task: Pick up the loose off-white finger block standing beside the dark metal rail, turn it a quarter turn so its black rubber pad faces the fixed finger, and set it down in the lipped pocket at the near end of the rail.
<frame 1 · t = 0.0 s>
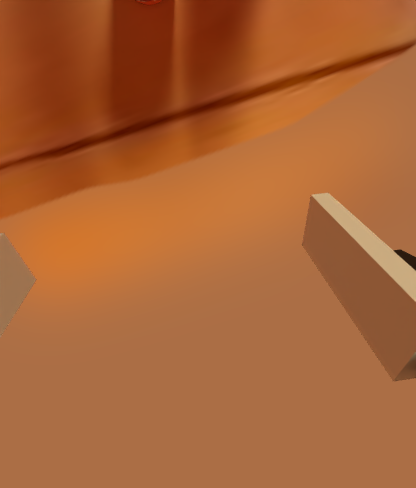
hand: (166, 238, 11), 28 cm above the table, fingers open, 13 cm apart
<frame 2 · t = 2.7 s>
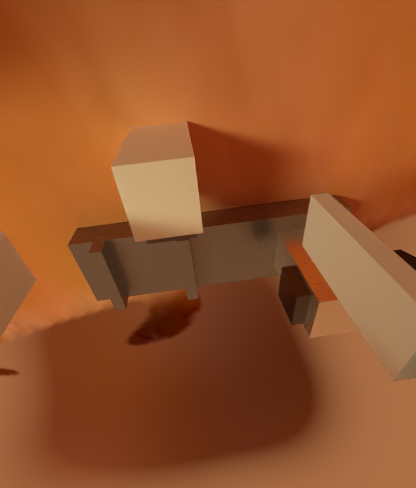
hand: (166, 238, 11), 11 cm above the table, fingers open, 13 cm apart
loose finger: (165, 155, 20), on the table
rail: (211, 241, 25), on the table
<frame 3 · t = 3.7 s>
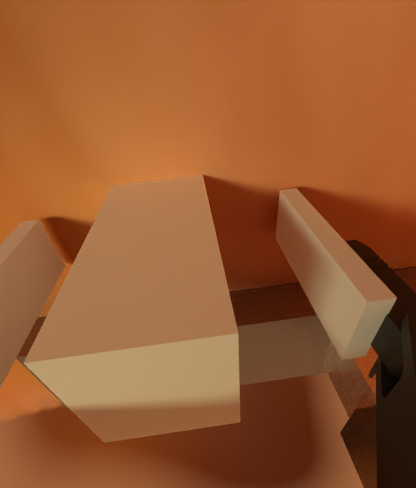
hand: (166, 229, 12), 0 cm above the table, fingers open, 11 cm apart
loose finger: (166, 223, 12), on the table
rail: (232, 325, 18), on the table
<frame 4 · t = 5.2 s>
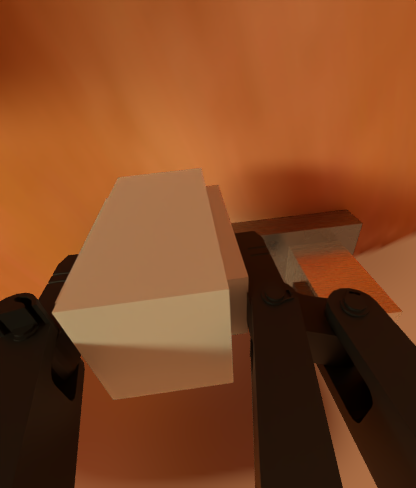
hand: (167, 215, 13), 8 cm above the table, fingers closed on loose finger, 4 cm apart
loose finger: (168, 213, 13), point 8 cm above the table, touching gripper
rail: (221, 254, 25), on the table
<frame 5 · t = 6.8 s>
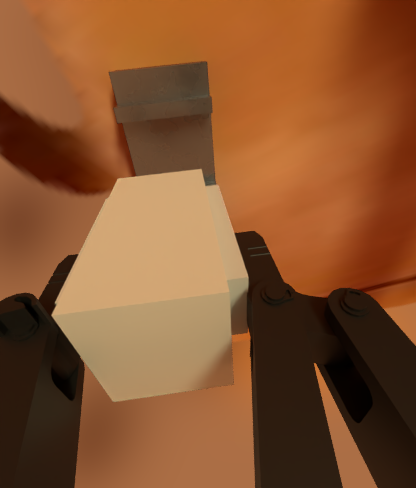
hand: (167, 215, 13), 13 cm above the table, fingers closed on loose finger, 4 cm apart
loose finger: (168, 214, 13), point 13 cm above the table, touching gripper
rail: (182, 202, 27), on the table
when the fingers open (3 cm above the table, at t = 8.7 s): loose finger stays where it is, resting on rail.
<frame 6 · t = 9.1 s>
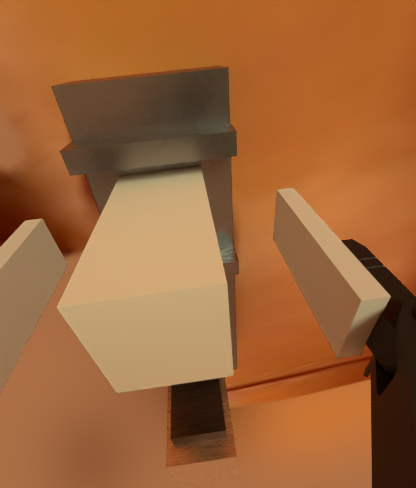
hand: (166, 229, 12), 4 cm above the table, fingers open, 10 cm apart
loose finger: (168, 211, 14), point 2 cm above the table, touching rail
rail: (182, 263, 19), on the table
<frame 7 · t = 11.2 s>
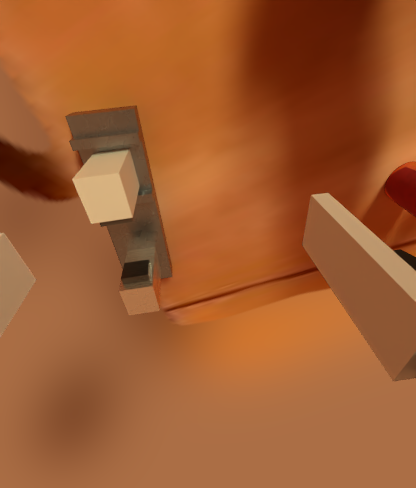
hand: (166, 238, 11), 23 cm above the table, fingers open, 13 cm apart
loose finger: (117, 170, 30), point 2 cm above the table, touching rail
coffee cup: (403, 180, 39), on the table
rail: (132, 205, 35), on the table
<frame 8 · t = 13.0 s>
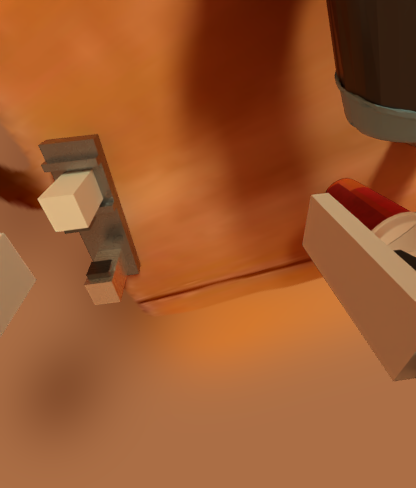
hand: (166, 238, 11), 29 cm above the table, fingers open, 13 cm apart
loose finger: (83, 186, 36), point 2 cm above the table, touching rail
coffee cup: (340, 193, 44), on the table
rail: (101, 213, 42), on the table
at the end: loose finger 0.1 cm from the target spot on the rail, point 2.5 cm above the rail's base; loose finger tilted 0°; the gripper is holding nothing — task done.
